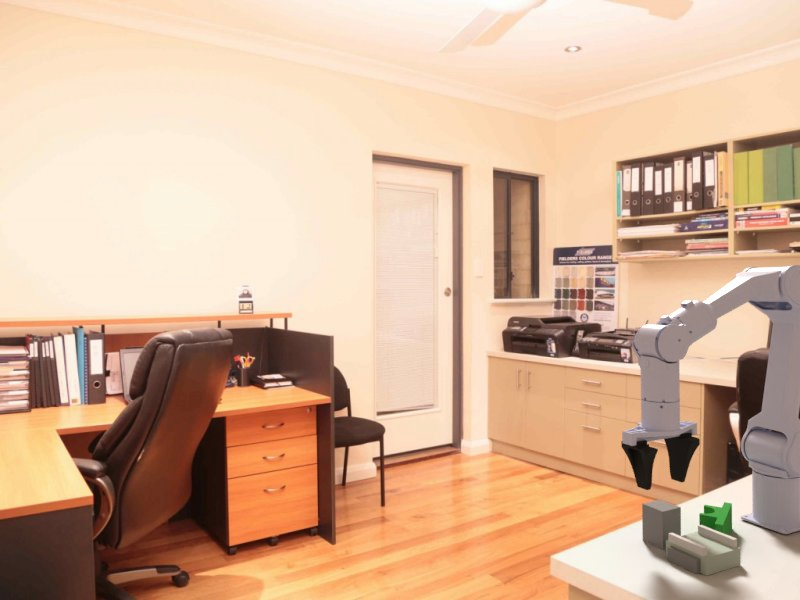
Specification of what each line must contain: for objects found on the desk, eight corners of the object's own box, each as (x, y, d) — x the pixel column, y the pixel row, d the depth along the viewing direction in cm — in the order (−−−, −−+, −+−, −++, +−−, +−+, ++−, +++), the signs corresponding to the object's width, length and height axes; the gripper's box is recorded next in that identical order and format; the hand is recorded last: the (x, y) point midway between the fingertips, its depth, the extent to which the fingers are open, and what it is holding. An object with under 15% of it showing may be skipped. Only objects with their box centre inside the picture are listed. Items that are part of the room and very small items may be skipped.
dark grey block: (654, 533, 101) (654, 497, 101) (680, 544, 97) (680, 507, 97) (636, 537, 100) (636, 501, 100) (662, 549, 95) (662, 511, 95)
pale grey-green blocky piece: (698, 547, 96) (698, 523, 96) (740, 565, 89) (740, 539, 89) (662, 557, 92) (661, 533, 92) (702, 576, 86) (702, 550, 86)
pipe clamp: (707, 525, 105) (707, 499, 105) (732, 530, 103) (732, 503, 103) (696, 548, 96) (696, 519, 96) (723, 554, 94) (723, 524, 93)
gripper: (671, 391, 104) (672, 471, 104) (607, 399, 98) (608, 484, 98) (708, 398, 98) (709, 482, 98) (642, 407, 91) (643, 497, 92)
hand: (661, 484), depth 98 cm, fingers open, 7 cm apart
